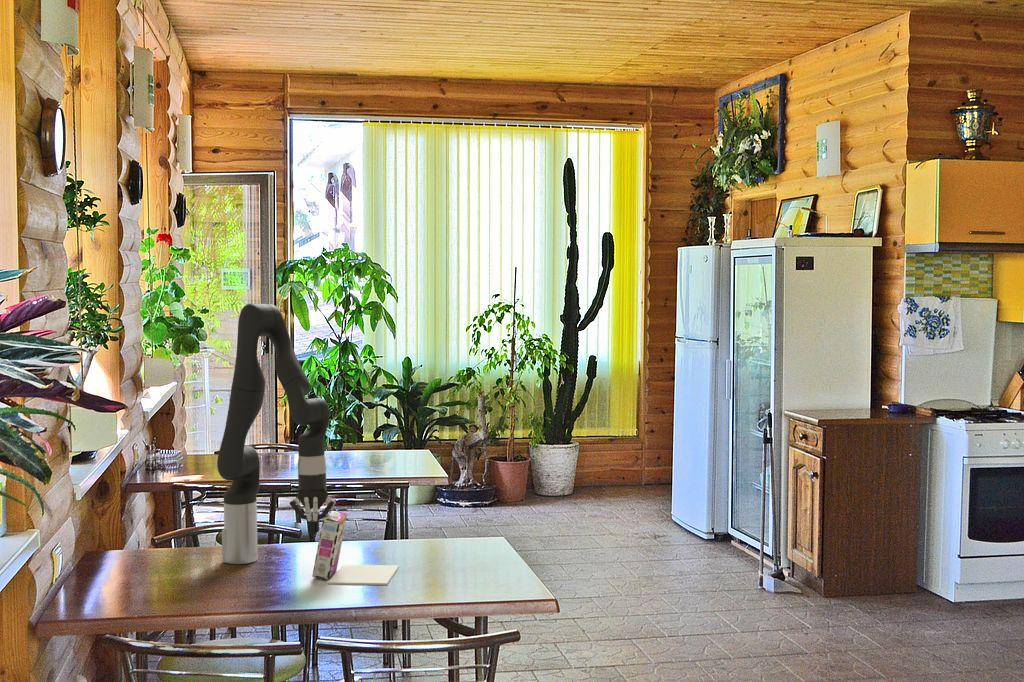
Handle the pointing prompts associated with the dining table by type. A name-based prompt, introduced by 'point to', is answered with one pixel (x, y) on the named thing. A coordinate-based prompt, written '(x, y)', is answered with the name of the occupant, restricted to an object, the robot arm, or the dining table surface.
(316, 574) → the candy bar box
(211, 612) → the dining table surface
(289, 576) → the dining table surface
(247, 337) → the robot arm
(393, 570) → the mat
